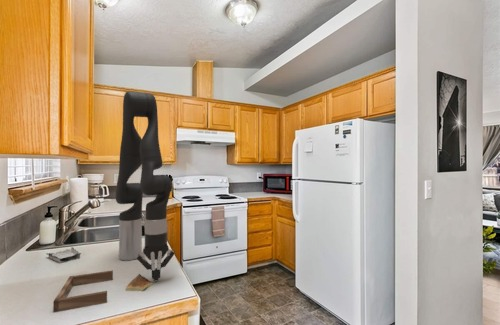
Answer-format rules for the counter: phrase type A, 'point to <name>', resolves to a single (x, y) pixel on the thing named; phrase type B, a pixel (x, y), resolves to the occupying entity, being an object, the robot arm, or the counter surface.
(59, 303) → the wooden c-shaped bracket
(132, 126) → the robot arm
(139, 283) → the shard
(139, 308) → the counter surface
